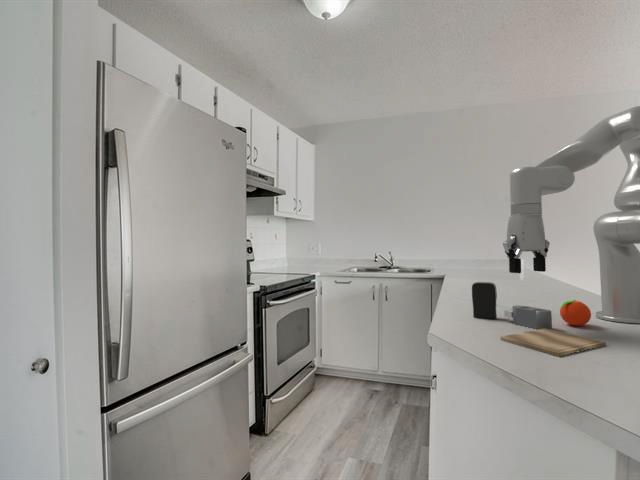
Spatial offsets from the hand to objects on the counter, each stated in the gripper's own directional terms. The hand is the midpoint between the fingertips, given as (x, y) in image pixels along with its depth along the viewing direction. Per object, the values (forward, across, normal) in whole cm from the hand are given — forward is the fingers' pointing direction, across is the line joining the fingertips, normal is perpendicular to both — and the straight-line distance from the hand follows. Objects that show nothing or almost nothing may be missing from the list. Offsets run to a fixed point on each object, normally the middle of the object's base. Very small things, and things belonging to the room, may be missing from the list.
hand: (527, 272), depth 94 cm
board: (+16, +9, +12) cm, 22 cm away
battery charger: (+16, +1, -14) cm, 21 cm away
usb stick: (+15, -1, -1) cm, 15 cm away
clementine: (+15, -11, +5) cm, 19 cm away
